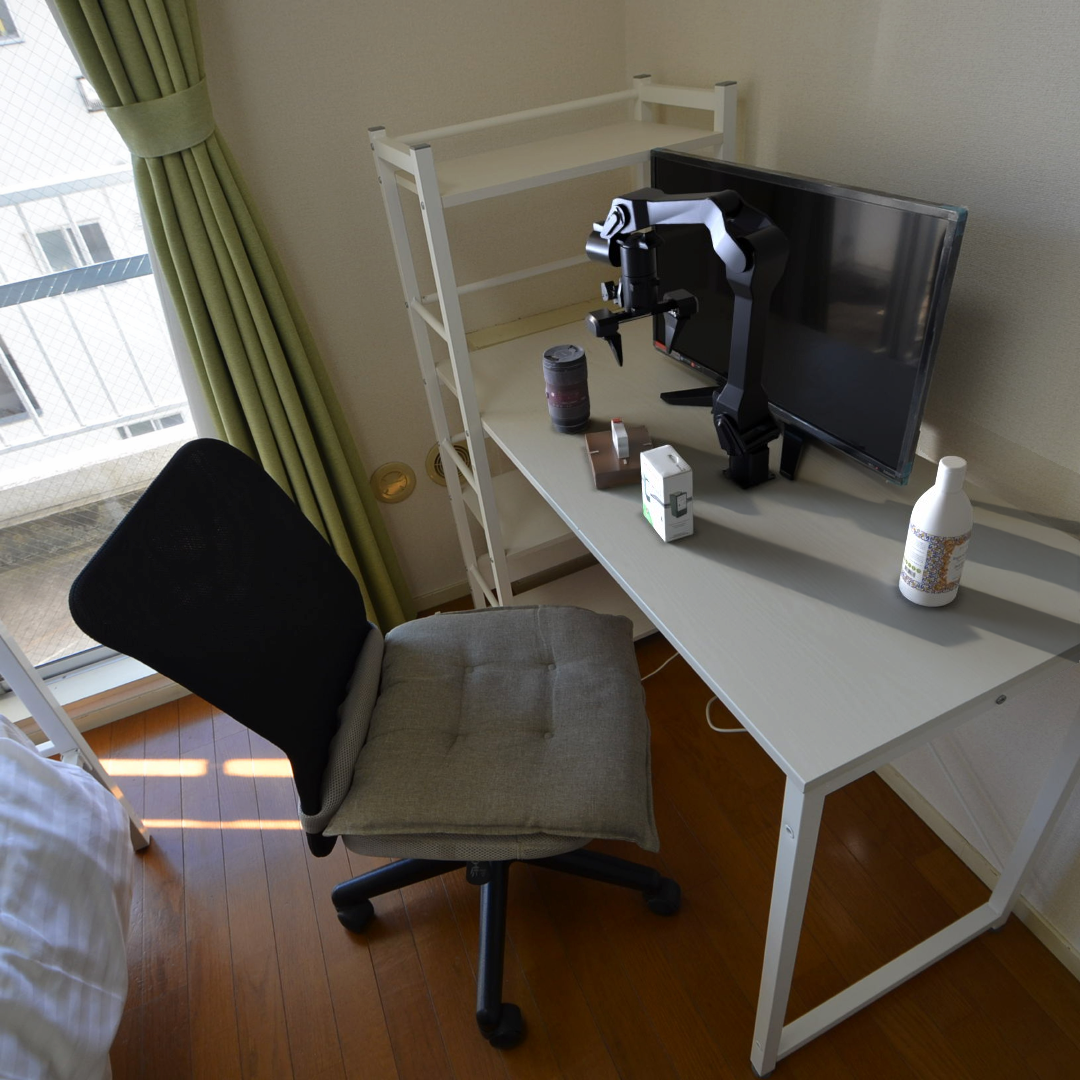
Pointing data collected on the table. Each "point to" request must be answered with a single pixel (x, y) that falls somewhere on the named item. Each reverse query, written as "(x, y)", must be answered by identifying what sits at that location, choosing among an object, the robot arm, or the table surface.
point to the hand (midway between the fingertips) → (644, 359)
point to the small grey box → (620, 438)
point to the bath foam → (938, 538)
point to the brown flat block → (606, 460)
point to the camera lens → (567, 387)
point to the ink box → (667, 492)
